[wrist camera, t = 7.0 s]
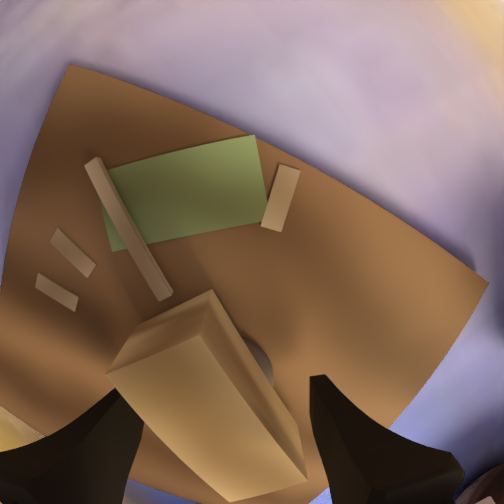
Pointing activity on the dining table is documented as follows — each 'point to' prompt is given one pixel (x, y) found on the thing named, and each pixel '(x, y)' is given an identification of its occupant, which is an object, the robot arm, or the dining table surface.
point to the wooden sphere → (485, 488)
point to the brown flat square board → (212, 271)
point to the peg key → (202, 382)
